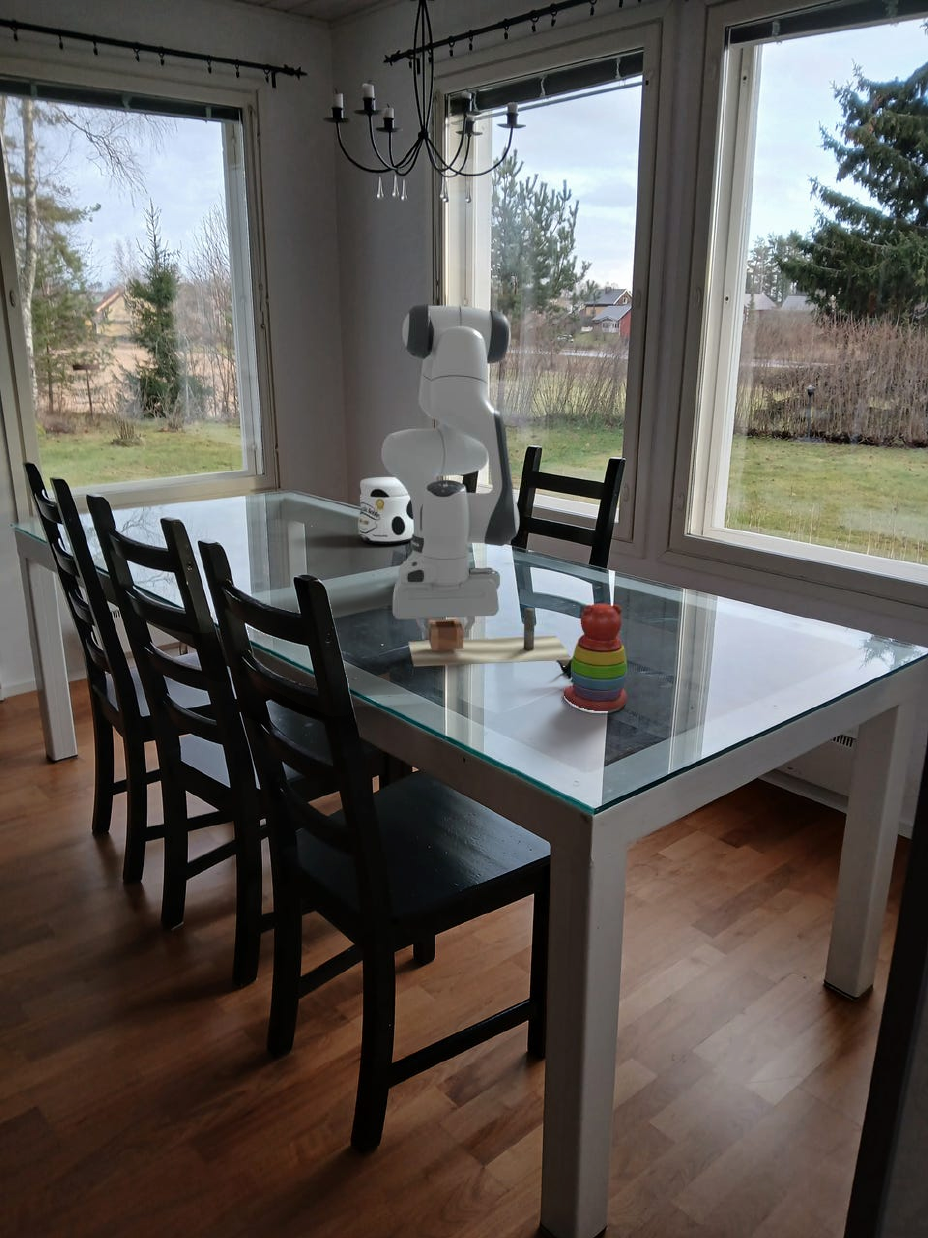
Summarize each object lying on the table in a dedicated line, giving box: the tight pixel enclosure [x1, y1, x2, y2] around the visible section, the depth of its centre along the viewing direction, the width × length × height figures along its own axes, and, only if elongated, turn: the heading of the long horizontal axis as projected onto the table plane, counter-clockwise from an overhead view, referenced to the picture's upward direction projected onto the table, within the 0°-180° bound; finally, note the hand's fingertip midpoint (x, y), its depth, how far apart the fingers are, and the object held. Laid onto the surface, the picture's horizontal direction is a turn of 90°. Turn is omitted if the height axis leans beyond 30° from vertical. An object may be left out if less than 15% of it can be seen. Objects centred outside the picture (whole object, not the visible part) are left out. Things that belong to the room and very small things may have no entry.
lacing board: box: [407, 607, 573, 667], centre depth 182 cm, size 14×30×10 cm, turn 97°
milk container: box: [357, 476, 414, 545], centre depth 278 cm, size 17×17×18 cm
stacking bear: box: [563, 603, 628, 711], centre depth 159 cm, size 11×10×18 cm
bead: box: [428, 618, 464, 650], centre depth 181 cm, size 6×6×4 cm
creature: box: [555, 659, 573, 686], centre depth 169 cm, size 8×5×8 cm
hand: (445, 638), depth 181 cm, fingers closed on bead, 6 cm apart
